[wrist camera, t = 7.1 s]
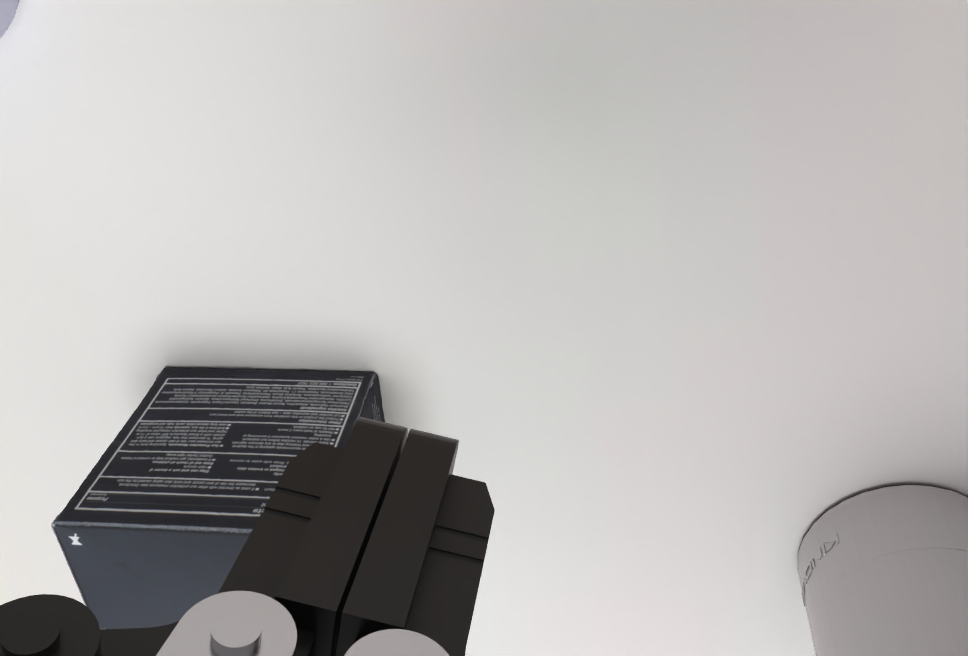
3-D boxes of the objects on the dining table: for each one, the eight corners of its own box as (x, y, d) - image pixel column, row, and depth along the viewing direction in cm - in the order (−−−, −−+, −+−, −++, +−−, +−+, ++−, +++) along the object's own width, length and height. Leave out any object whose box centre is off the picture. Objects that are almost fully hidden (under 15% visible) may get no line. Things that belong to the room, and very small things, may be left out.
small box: (191, 471, 46) (89, 638, 38) (160, 363, 43) (39, 518, 34) (395, 479, 45) (339, 654, 36) (379, 368, 42) (312, 531, 33)
